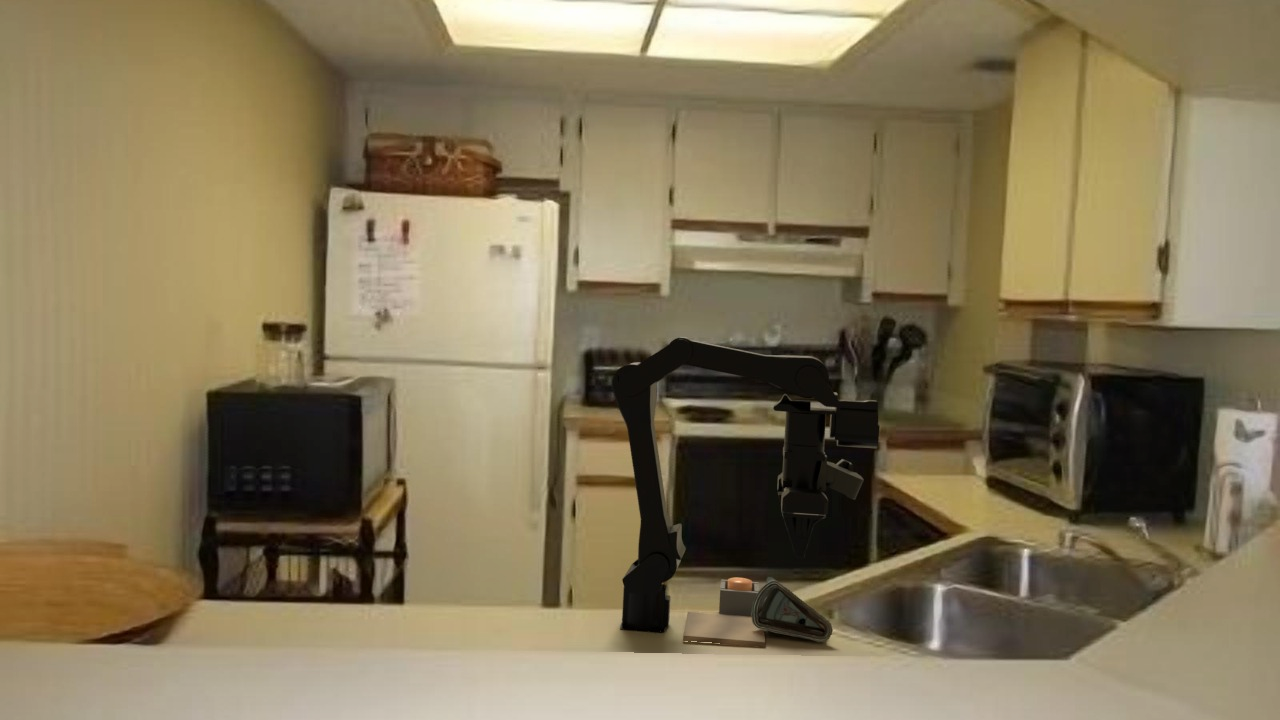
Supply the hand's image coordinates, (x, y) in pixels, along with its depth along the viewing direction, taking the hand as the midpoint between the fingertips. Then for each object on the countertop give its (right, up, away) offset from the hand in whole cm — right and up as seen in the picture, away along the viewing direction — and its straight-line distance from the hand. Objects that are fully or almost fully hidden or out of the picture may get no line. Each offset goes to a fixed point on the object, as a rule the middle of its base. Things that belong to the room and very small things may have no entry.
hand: (798, 550), depth 141 cm
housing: (-7, -12, +12) cm, 19 cm away
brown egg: (-7, -12, +12) cm, 19 cm away
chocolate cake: (+2, -15, +1) cm, 15 cm away
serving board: (-11, -12, +2) cm, 16 cm away
